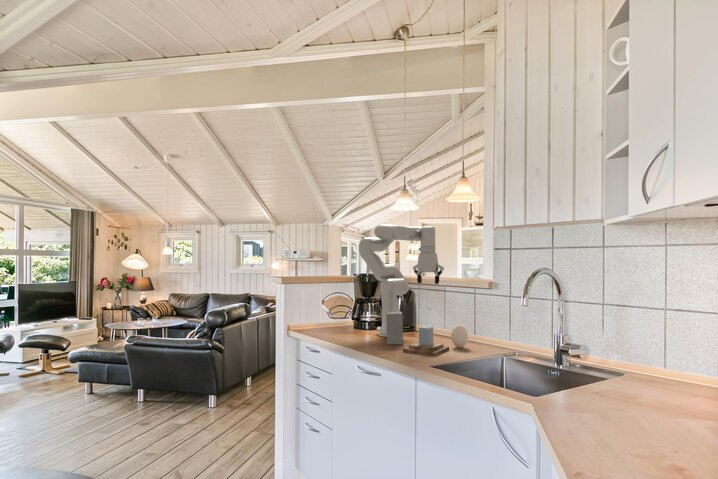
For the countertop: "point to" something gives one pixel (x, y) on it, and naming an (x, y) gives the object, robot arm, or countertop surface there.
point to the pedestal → (426, 349)
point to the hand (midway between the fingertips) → (428, 283)
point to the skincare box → (394, 327)
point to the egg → (459, 336)
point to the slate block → (425, 335)
